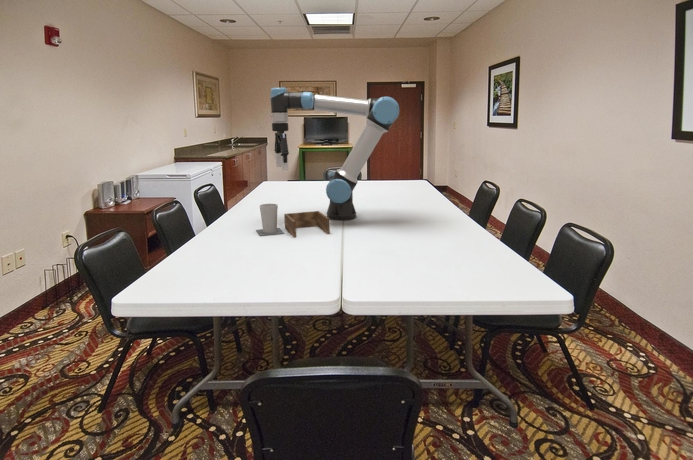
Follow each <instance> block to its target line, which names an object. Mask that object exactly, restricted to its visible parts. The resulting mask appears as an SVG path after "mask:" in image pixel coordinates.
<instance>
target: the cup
mask: <svg viewBox="0 0 693 460" xmlns="http://www.w3.org/2000/svg"><path fill="white" fill-rule="evenodd" d="M278 209H279V208H278V204H277V203H263V204H260V205H259V211H260V218H261V224H262V226H261V227H262V229H263V232H264V233H274V232H277V228H278Z"/></svg>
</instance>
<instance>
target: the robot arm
mask: <svg viewBox="0 0 693 460" xmlns="http://www.w3.org/2000/svg"><path fill="white" fill-rule="evenodd" d="M270 109H271V110H270V111H271V112H270V113H271V115H270V118H271V122H272V123H271V130H272V132H274V150H273V151H274V153H275V165H276V168H281V170H282V171H289V156H288V155H290V153H289V146H288V139H287V138H288V137H287V133H285V132H288V131H289V123H288V122H289V110H309V111H310V110H311V111H318V112H319V111H320V112H328V113H335V114H336V113H337V114H344V115H345V114H346V115H352V116H353V115H354V116H360V117H366V118H365V119H366V125H365V127H364V128H363V130H362V132H361V134H360V135H359V137H358V138H357V140H356V142H355V144H354V146H353V147H352V149H351V150H350V152H349V154H348V156H347V158H346V159H345V160H344V163H343V164H342V166H341V168H339V169H336V170H335V172H330V173H329V175H328V179H329V180H328V181H329V182H328V183H327V184H326V186H325V187H326V188H325V192H326V196H327V198H328V200H329V204H328V207H327V211H326V216H327V217H328V218H329V220H334V221H348V220H353V219H356V218H357V211H356V209H355V204H354V202H353V200H354V199H353V191H354V190H355V188H356V186H357V184H358V183H359V182H358V176H359V175H360V173H361V171H362V170H363V168H364V167H365V165H366V163H367V161H368V159H369V158H370V156H371V155H372V153H373V152H374V149H375V148H376V146H377V145H378V143H379V141H380V140H381V138H382V136H383V134H385V133H388V132H389V131H390V129H391V128H392V126H393V124H394V123H395V122H396V120H397V119H398V118H399V115H400V106H399V103H398V102H397V100H395V98H393V97H391V96H382V97H381V96H380V97H379V98H368V99H361V98H360V99H359V98H354V97H353V98H351V97H344V96H342V97H341V96H335V95H325V94H317V93H313V92H311V91H293V92H291V91H290V92H289V91H288V89H287V88H286V87H271V88H270Z"/></svg>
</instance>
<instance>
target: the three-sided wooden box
mask: <svg viewBox="0 0 693 460" xmlns="http://www.w3.org/2000/svg"><path fill="white" fill-rule="evenodd" d="M283 214H284V215H283V216H284V229H285V231H286V232H287V233H289V234H290V236H292V237H293V238H296V237H297V229H302V228H311V227H317V228H319V229H320V230H321V231H323V232H324V233H325V234H327V235H330V232H331V231H330V227H331V226H330V219H329V218H328V217H327V215H325V214H324V213H322V212H321V211H319V210H314V211H305V212H304V211H303V212H302V211H301V212H293V213H292V212H291V213H283Z"/></svg>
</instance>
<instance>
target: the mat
mask: <svg viewBox="0 0 693 460" xmlns="http://www.w3.org/2000/svg"><path fill="white" fill-rule="evenodd" d="M255 231H256V233H257V234H258V236H259V237H265V236H268V237H269V236H275V235H276V236H278V235H284V234H285V232H284V230H282V229H281V227H277V232H274V233H264V232H263V228H259V229H255Z"/></svg>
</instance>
